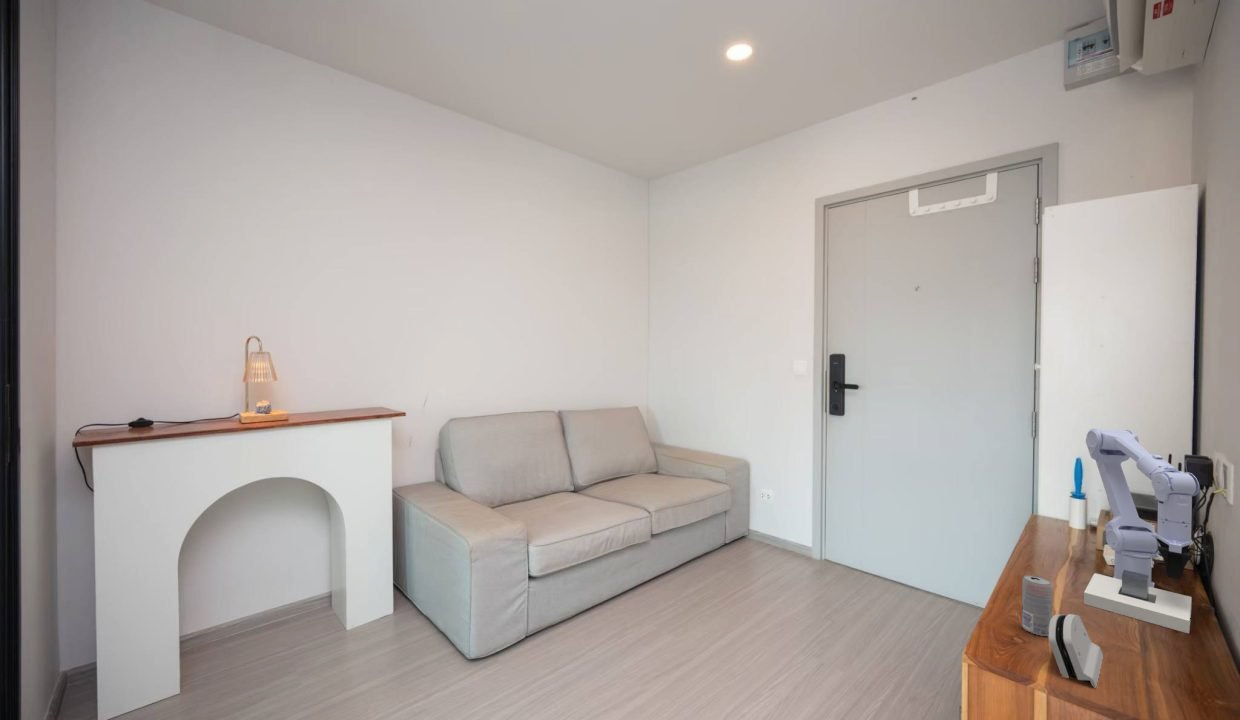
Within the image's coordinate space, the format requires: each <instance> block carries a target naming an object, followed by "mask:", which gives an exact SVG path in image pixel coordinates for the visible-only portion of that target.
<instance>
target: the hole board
mask: <svg viewBox="0 0 1240 720" xmlns="http://www.w3.org/2000/svg"><path fill="white" fill-rule="evenodd" d="M1083 604H1084V605H1087V606H1090V607H1092V608H1093V607H1094V608H1098V609H1100V610H1105V611H1109V612H1111V613H1115V614H1117V615H1118V614H1119V615H1122V616H1126V617H1129V618H1133V619H1135V620H1140V621H1143V622H1146V623H1149V624H1154V625H1157V626H1161V627H1164V628H1168V629H1171V630H1175V631H1178V632H1181V633H1184V634H1190V630H1191V619H1190V618H1192V616H1191V615H1192V596H1189V595H1184V594H1181V593H1176V592H1173V591H1168V590H1164V589H1160V588H1156V587H1154V588H1153V587H1149V596H1148V602H1147V601H1143V600H1140V599H1136V598H1132V597H1128V596H1124V595H1122V580H1120V579H1116V578H1113V576H1112V577H1111V576H1107V575H1104V574H1100V573H1096V572H1095V573H1094V574H1093V575H1092V577H1091V578H1090V580H1089V583H1088V584H1087V586H1086V588H1085V590H1084V592H1083Z"/></svg>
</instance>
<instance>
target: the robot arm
mask: <svg viewBox="0 0 1240 720" xmlns="http://www.w3.org/2000/svg"><path fill="white" fill-rule="evenodd" d="M1085 443H1086V446H1087V450H1088V453H1089V455H1090V458H1091V459H1093V460H1094V461H1095V463H1096V466H1097V469H1098V472H1099V476H1100V479H1101V482H1102V484H1103V488H1104V492H1105V494H1106V498H1107V500H1108V503H1109V507H1110V509H1111V512H1112V516H1113V518H1112V519H1111V520H1110V521H1107V522H1106V523H1105V525H1104V529H1105V541H1106V543H1107V545H1108V546H1109V548H1110V549H1111V550H1113V551H1114V573H1113V576H1112V578H1116V579H1120V580H1122V573H1123V571H1124V570H1128V571H1132V572H1136V573H1140V574H1145V575H1149V587H1153V588H1155V582H1154V581H1152V559H1156V555H1159V554H1160V555H1161V558H1162V560H1163V563H1164V567H1165V572H1166V574H1167V577H1168V578H1170V579H1175V580H1178V581H1179V580H1181V579H1182V577H1183V574H1184V570H1185V567H1186V565H1187V563H1188V561H1190V559H1191V558H1193V554H1192V553H1190V552H1189V553H1188V552H1186V551H1187V550H1188V549H1189V548H1190V545H1193V539H1192V519H1193V518H1192V516H1193V513H1192V512H1193V508H1192V507H1193V506H1192V505H1193V497H1196V496H1197V495H1198V494H1199V493H1200V483H1199V482H1200V481H1198V479H1197V477H1196V476H1195V475H1194V473H1192V472H1187V471H1182V470H1178V469H1177V468H1176V467H1175V466H1173V465H1172V464H1171V463H1169V462H1168V460H1166V459H1164V457H1163V456H1162V455H1161V454H1155V453H1154V454H1153V453H1152V454H1151V453H1150V452H1149V451H1147V450H1146V448H1145V447H1143V445H1141V444H1140V441H1139V437H1138V435H1137V434H1135V432H1134V430H1129V429H1124V430H1121V429H1119V430H1117V429H1100V428H1099V429H1098V428H1091V429H1089V431H1088V432H1087V433H1086V438H1085ZM1129 459H1132V460H1133V461H1134V462H1136V464H1135V465H1136V469H1137V470H1139V471H1140V473H1142V474H1143V475H1144V476H1146V477H1147V478H1148V479H1149V480H1150V481H1151V485H1152V488H1153V490H1154V497H1155V499H1156V500H1157V529H1156V530H1157V532H1156V531H1155V529H1154V526H1153V525H1152V524H1150V523H1149V522H1147V521H1145V520H1143V519H1142V518H1140V516H1139V513H1138V510H1137V508H1136V505H1135V502H1134V499H1133V497H1132V494H1131V491H1130V487H1129V486H1128V482H1127V479H1126V476H1125V473H1124V470H1123V467H1122V463H1123V462H1127V461H1128V460H1129Z"/></svg>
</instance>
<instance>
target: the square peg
mask: <svg viewBox="0 0 1240 720" xmlns="http://www.w3.org/2000/svg"><path fill="white" fill-rule="evenodd" d="M1122 595H1124V596H1128V597H1132V598H1136V599H1140V600H1143V601H1147V602H1148V596H1149V575H1145V574H1140V573H1136V572H1132V571H1128V570H1124V571H1123V573H1122Z"/></svg>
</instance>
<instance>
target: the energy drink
mask: <svg viewBox="0 0 1240 720" xmlns="http://www.w3.org/2000/svg"><path fill="white" fill-rule="evenodd" d="M1021 587H1022V588H1021V589H1022V590H1021V594H1022V595H1021V599H1022V600H1021V627H1022V628H1023V630H1025V632H1027V631H1028V632H1027V633H1029V632H1031V633H1030V634H1032V633H1033V634H1032V635H1034V634H1036V635H1035V636H1038V635H1040V636H1039V637H1043V636H1047V637H1049V624H1050V620H1051V618H1052V617H1053V584H1052V581H1051V580H1050V579H1048V578H1045V577H1042V576H1038V575H1033V574H1025V575H1024V576H1023V579H1022V585H1021Z"/></svg>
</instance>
